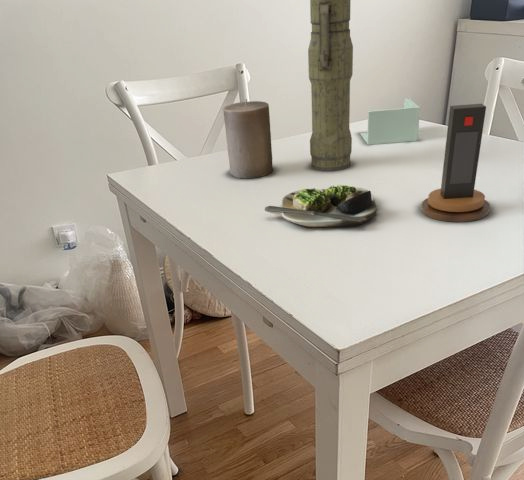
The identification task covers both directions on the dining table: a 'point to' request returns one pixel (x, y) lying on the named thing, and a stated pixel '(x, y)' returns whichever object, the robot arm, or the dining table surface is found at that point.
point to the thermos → (330, 84)
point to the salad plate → (327, 207)
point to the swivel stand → (455, 213)
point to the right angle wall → (393, 124)
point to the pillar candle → (248, 139)
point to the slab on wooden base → (461, 161)
